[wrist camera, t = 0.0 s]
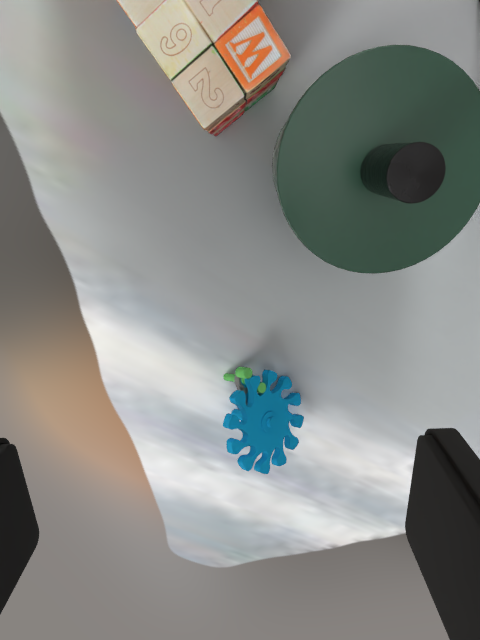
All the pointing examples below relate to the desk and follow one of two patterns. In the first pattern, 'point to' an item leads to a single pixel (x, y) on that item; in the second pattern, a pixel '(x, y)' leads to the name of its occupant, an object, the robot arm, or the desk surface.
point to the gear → (261, 418)
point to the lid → (382, 159)
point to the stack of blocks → (212, 53)
